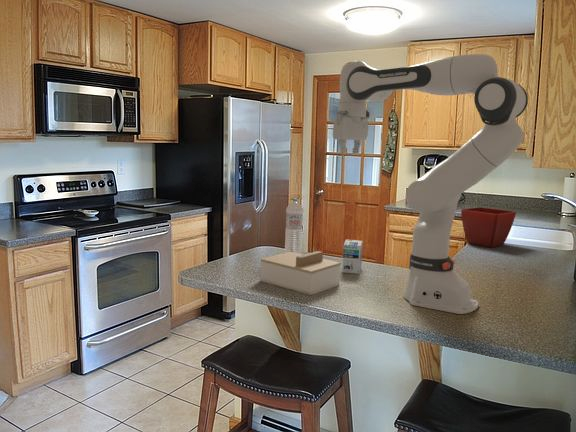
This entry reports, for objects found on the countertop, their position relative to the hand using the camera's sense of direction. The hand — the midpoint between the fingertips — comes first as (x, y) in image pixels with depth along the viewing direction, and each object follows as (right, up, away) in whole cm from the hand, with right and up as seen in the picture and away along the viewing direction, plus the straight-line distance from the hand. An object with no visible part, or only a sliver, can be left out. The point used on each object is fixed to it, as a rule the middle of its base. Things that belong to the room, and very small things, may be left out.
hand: (349, 153), depth 170 cm
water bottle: (-19, -39, +34) cm, 55 cm away
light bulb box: (+3, -42, +21) cm, 47 cm away
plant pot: (+76, -35, +77) cm, 114 cm away
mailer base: (-17, -44, +2) cm, 47 cm away
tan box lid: (-17, -37, +1) cm, 41 cm away
